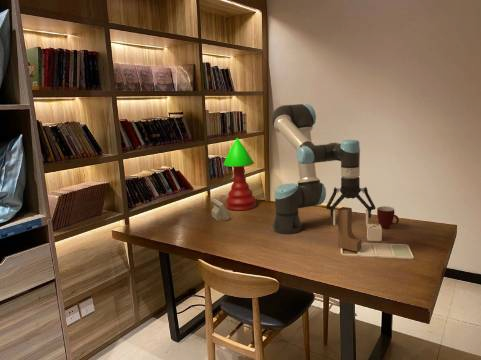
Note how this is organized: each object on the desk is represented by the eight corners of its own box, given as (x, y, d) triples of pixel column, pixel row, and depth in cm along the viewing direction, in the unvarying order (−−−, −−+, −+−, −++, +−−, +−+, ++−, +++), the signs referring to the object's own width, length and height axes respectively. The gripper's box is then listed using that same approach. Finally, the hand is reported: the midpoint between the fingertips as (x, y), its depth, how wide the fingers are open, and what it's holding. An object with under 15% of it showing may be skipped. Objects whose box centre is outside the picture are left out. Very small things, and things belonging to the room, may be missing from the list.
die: (367, 240, 169) (368, 228, 168) (366, 235, 175) (367, 223, 174) (381, 240, 168) (381, 228, 167) (380, 236, 174) (380, 224, 172)
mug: (400, 227, 183) (401, 208, 181) (396, 232, 177) (397, 212, 175) (379, 224, 190) (380, 205, 188) (374, 228, 184) (375, 209, 182)
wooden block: (361, 248, 159) (362, 209, 155) (357, 252, 156) (357, 212, 152) (342, 244, 165) (342, 206, 161) (338, 247, 162) (337, 209, 158)
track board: (340, 255, 155) (340, 254, 155) (340, 243, 168) (340, 241, 168) (414, 259, 148) (414, 257, 148) (407, 245, 161) (407, 244, 161)
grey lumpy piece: (229, 220, 209) (228, 203, 207) (214, 222, 208) (213, 204, 205) (225, 212, 225) (224, 196, 223) (210, 214, 223) (209, 197, 221)
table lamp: (245, 212, 223) (241, 139, 213) (219, 209, 234) (214, 139, 224) (261, 204, 239) (258, 135, 229) (236, 201, 250) (232, 135, 240)
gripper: (319, 178, 153) (320, 226, 157) (382, 178, 147) (382, 228, 151) (320, 175, 160) (321, 221, 165) (380, 174, 154) (379, 222, 158)
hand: (350, 224), depth 158 cm, fingers open, 13 cm apart
